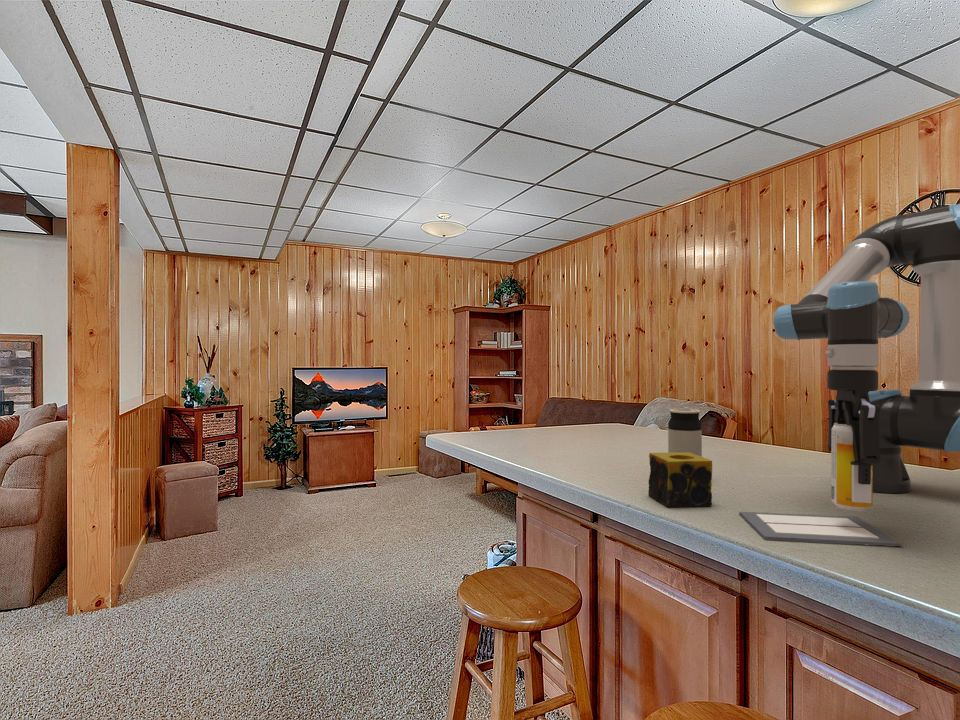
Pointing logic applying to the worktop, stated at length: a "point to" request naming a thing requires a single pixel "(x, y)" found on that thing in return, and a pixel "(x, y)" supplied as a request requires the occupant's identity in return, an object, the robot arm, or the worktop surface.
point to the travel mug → (685, 431)
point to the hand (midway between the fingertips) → (852, 497)
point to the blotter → (816, 529)
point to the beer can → (844, 469)
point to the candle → (680, 479)
